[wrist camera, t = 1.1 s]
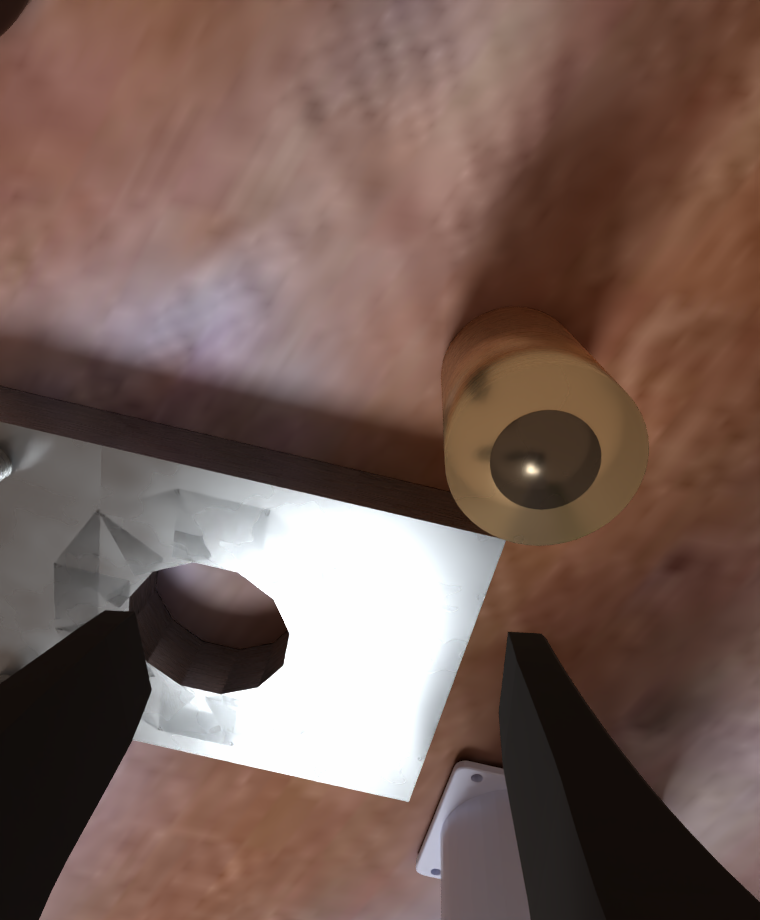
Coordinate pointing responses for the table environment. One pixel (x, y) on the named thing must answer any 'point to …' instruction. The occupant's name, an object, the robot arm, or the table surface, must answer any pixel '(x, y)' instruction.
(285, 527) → the jig
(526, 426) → the bushing
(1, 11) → the ink bottle
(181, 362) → the table surface
